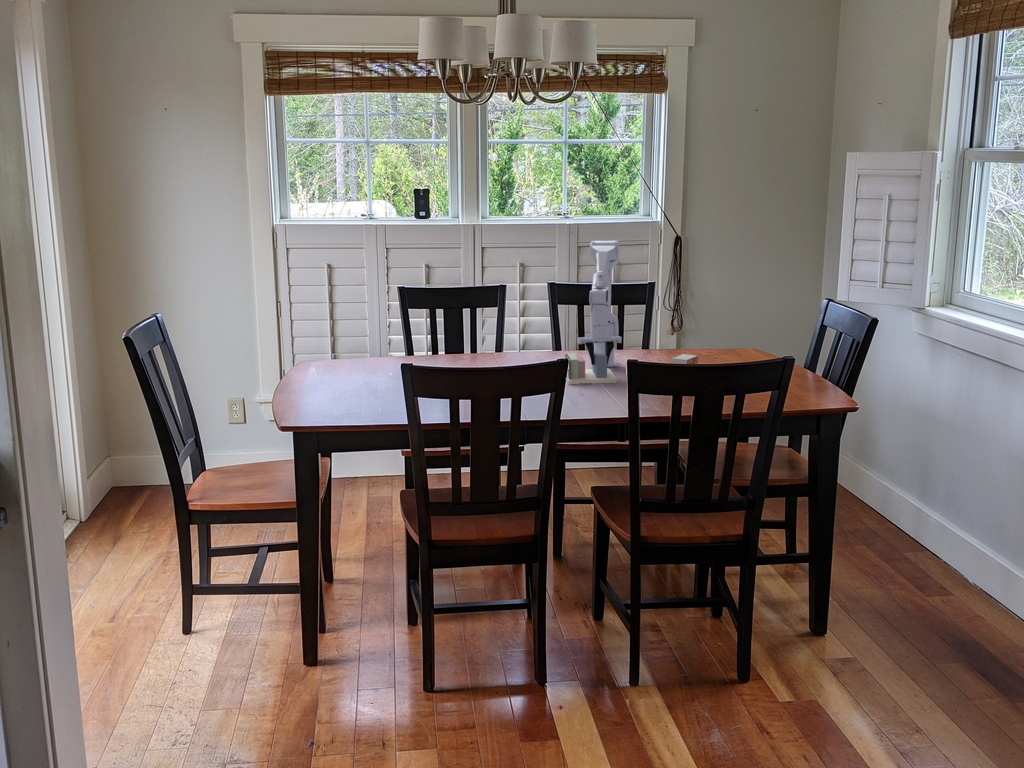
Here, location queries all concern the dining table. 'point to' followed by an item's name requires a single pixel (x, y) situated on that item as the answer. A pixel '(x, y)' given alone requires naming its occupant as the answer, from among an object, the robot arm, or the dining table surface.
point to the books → (577, 366)
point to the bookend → (569, 366)
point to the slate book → (600, 364)
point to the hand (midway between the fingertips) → (599, 364)
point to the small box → (685, 359)
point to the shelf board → (593, 378)
